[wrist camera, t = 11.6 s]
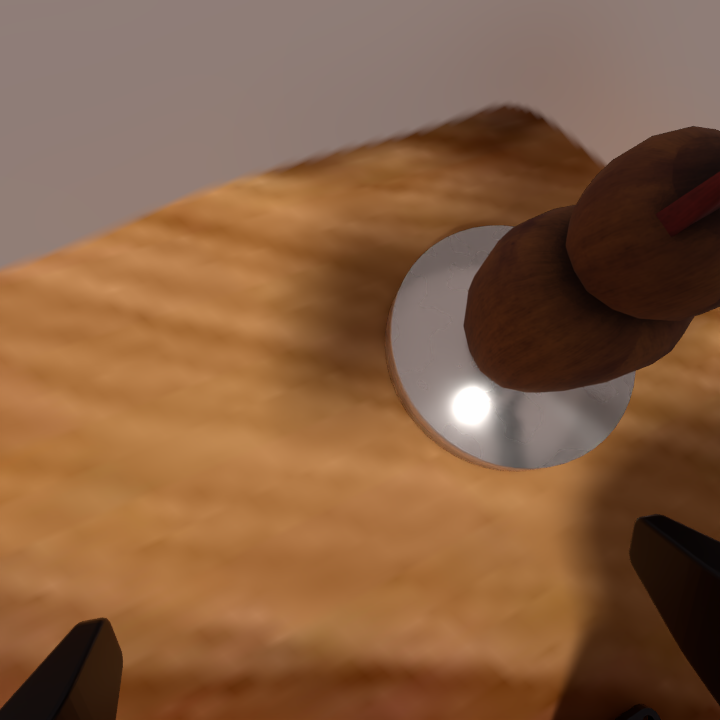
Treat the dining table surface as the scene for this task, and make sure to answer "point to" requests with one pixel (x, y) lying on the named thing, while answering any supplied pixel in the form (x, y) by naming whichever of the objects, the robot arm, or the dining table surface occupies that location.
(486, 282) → the wooden figurine
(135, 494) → the dining table surface
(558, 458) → the plate
